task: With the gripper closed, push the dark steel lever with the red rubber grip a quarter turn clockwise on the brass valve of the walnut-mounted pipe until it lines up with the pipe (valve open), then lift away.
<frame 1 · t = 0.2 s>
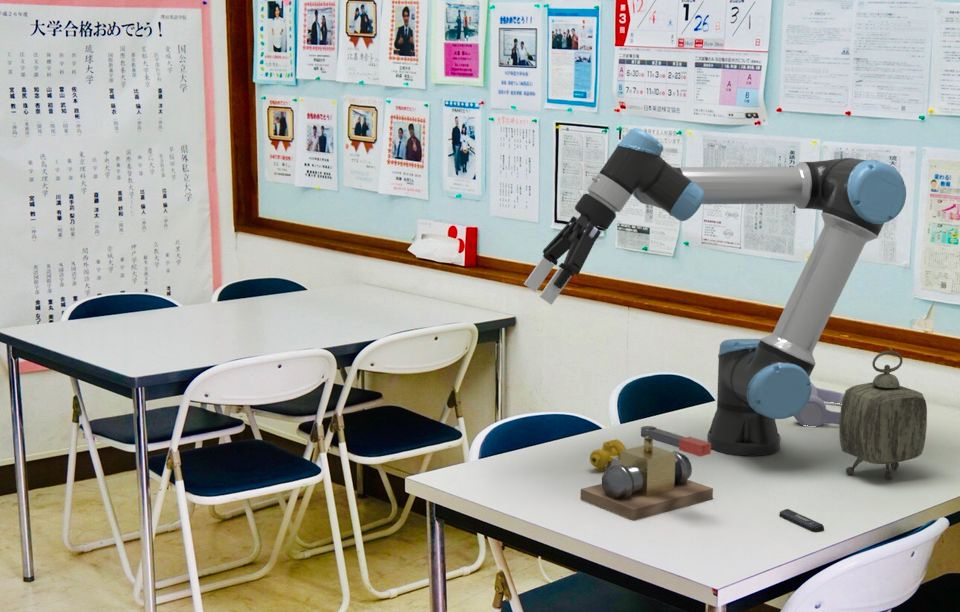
hand: (537, 294, 234), 36 cm above the table, tool tilted 35°, fingers open, 13 cm apart
pressure relief valve: (622, 472, 242), on the table
valve plinth: (646, 499, 226), on the table
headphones: (830, 418, 285), on the table
tabletop clock: (881, 477, 240), on the table
usb stick: (801, 526, 213), on the table
pipe valve: (647, 465, 224), point 6 cm above the table
valve lever: (673, 439, 218), point 13 cm above the table, hinge at 0.0°
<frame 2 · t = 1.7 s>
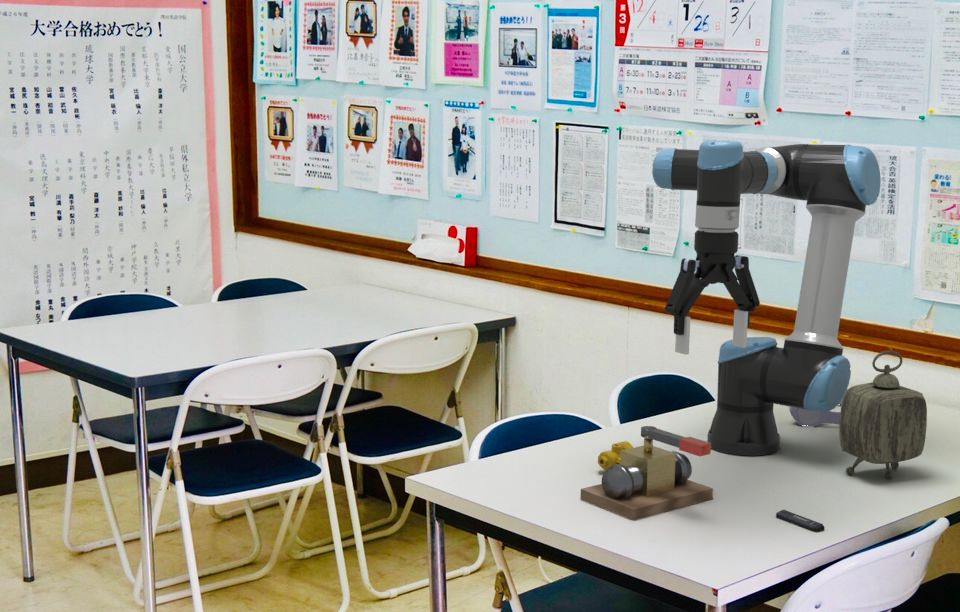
hand: (711, 349, 217), 29 cm above the table, tool pointing down, fingers open, 13 cm apart
pressure relief valve: (630, 474, 241), on the table, touching valve plinth
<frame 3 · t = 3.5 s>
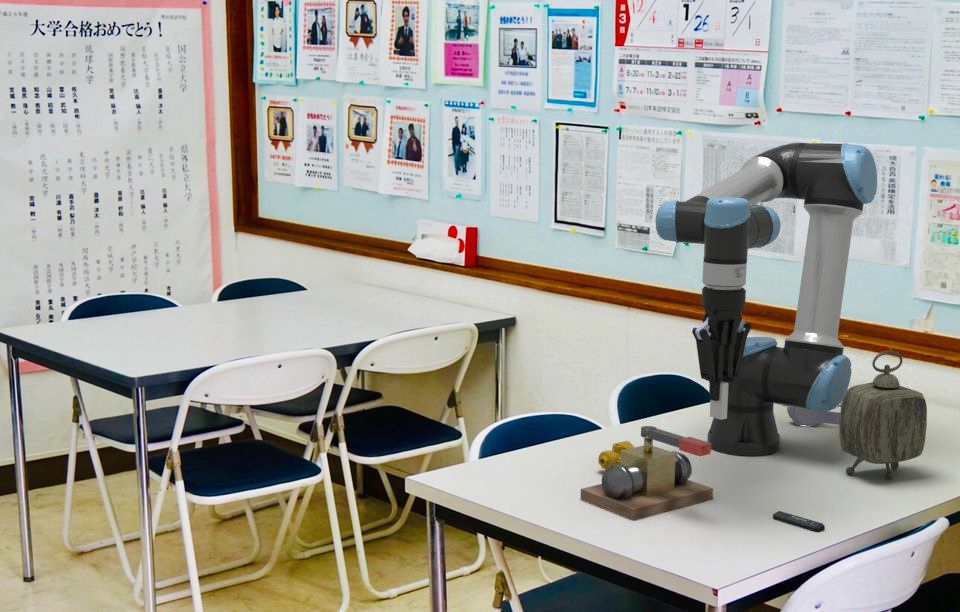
hand: (718, 417, 218), 17 cm above the table, tool pointing down, fingers closed
pressure relief valve: (630, 474, 241), on the table
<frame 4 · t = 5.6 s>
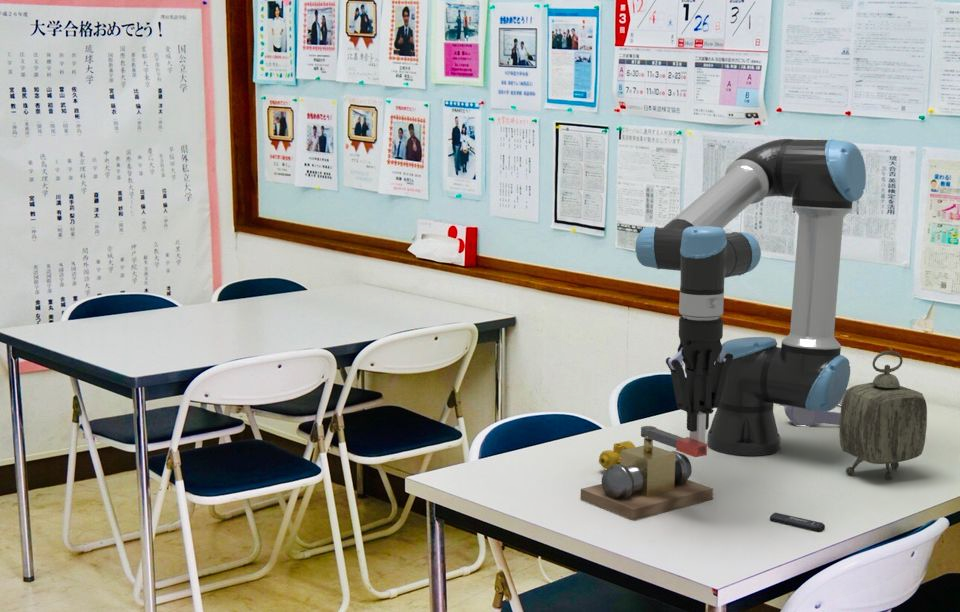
hand: (697, 448, 216), 12 cm above the table, tool pointing down, fingers closed
valve lever: (671, 440, 218), point 13 cm above the table, hinge at 4.1°, touching gripper
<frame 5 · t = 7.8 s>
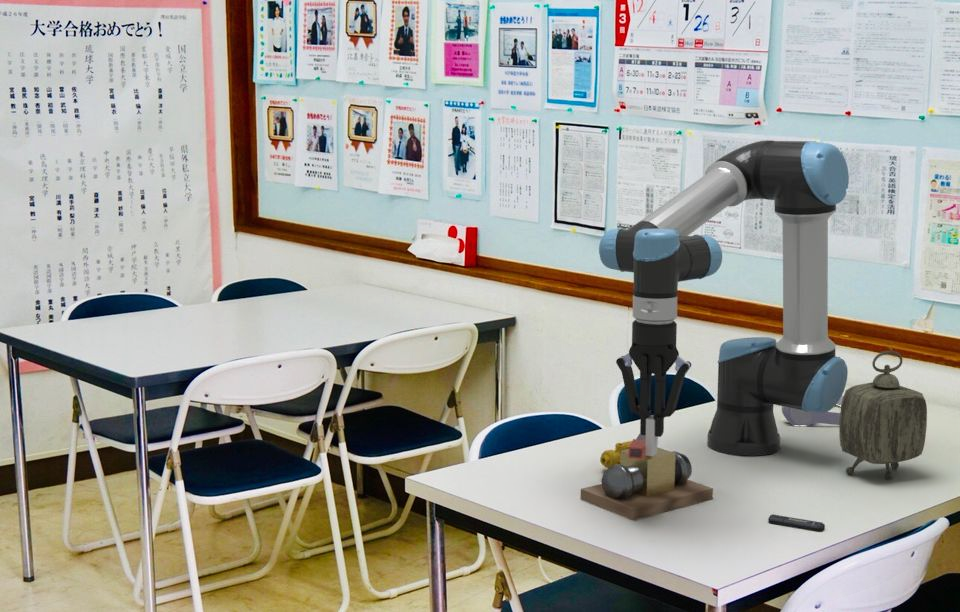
hand: (651, 453, 213), 12 cm above the table, tool pointing down, fingers closed
valve lever: (643, 441, 217), point 13 cm above the table, hinge at 53.1°, touching gripper
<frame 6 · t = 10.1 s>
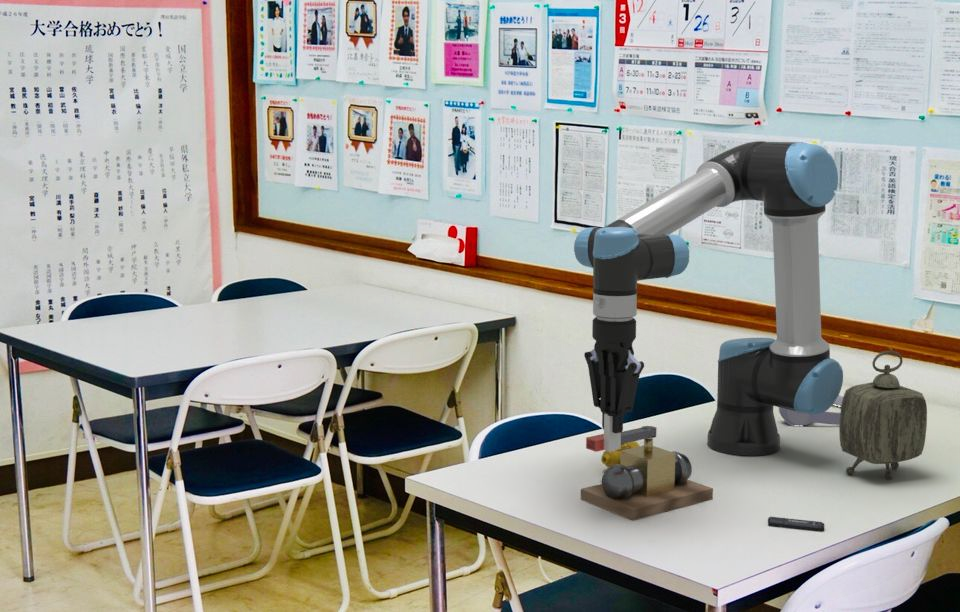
hand: (612, 449, 216), 12 cm above the table, tool pointing down, fingers closed
valve lever: (623, 437, 220), point 13 cm above the table, hinge at 89.9°, touching gripper
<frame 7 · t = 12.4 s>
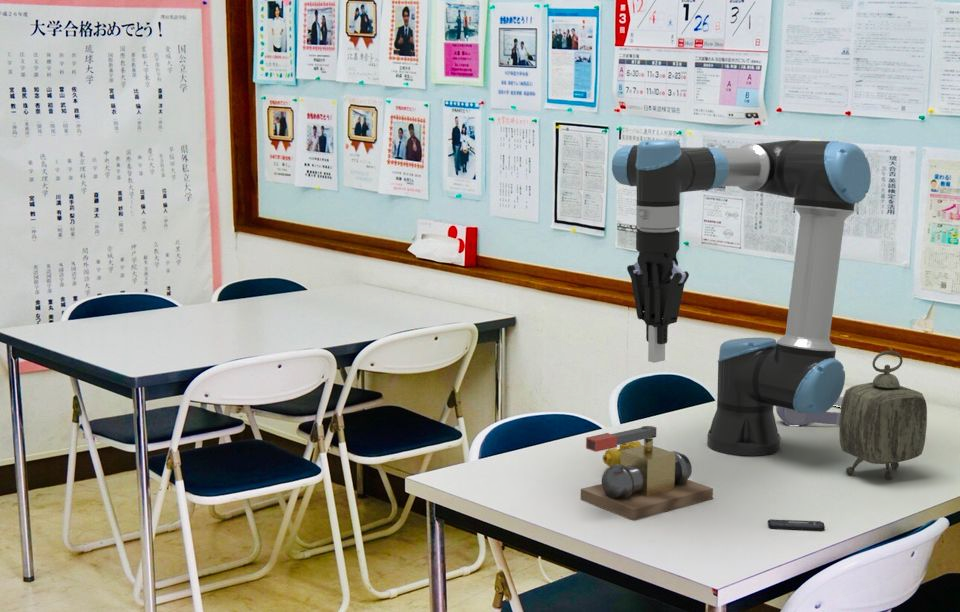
hand: (656, 360, 218), 27 cm above the table, tool pointing down, fingers closed
valve lever: (623, 437, 220), point 13 cm above the table, hinge at 89.9°
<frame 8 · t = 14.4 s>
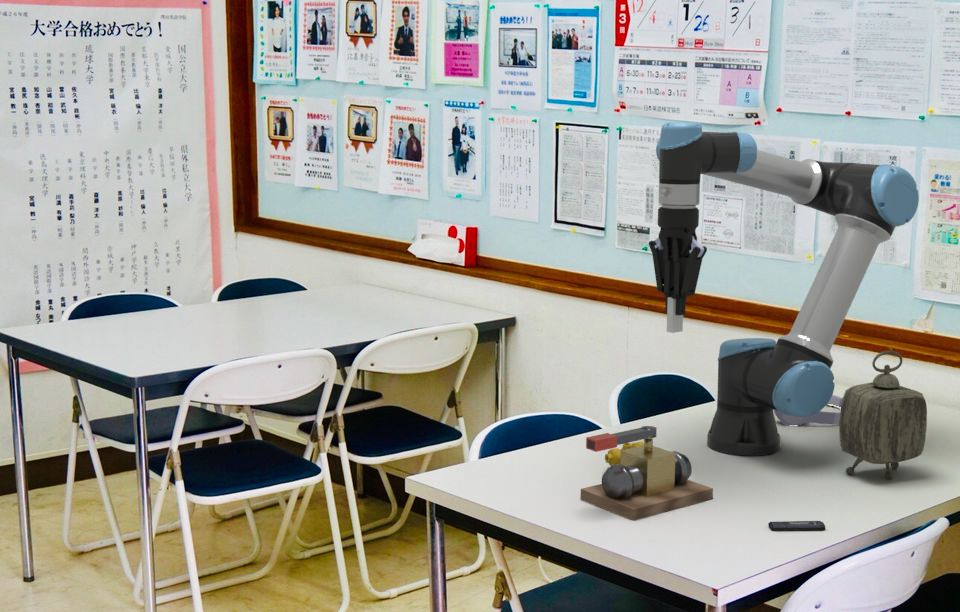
hand: (674, 331, 231), 29 cm above the table, tool pointing down, fingers closed
at the end: valve lever at +90° (first picture: +0°) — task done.
